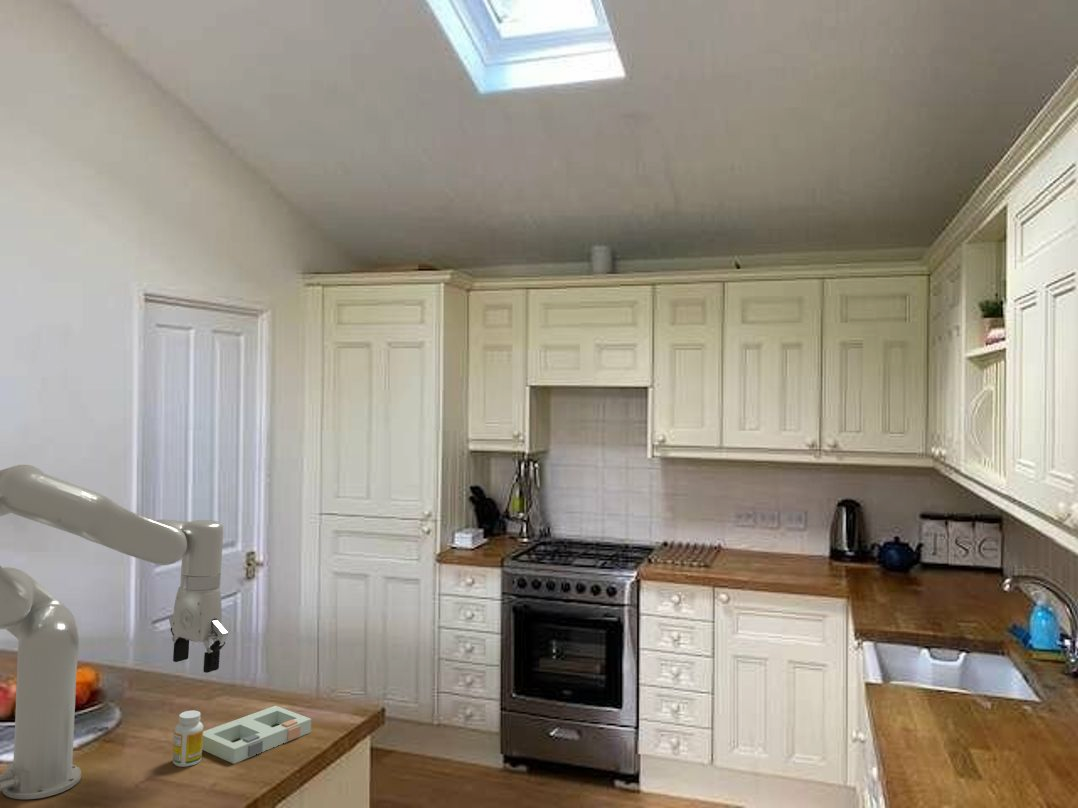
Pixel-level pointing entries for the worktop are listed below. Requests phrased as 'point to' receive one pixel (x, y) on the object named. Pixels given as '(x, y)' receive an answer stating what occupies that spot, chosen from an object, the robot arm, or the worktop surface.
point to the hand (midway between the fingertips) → (195, 665)
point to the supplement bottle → (188, 739)
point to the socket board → (254, 733)
